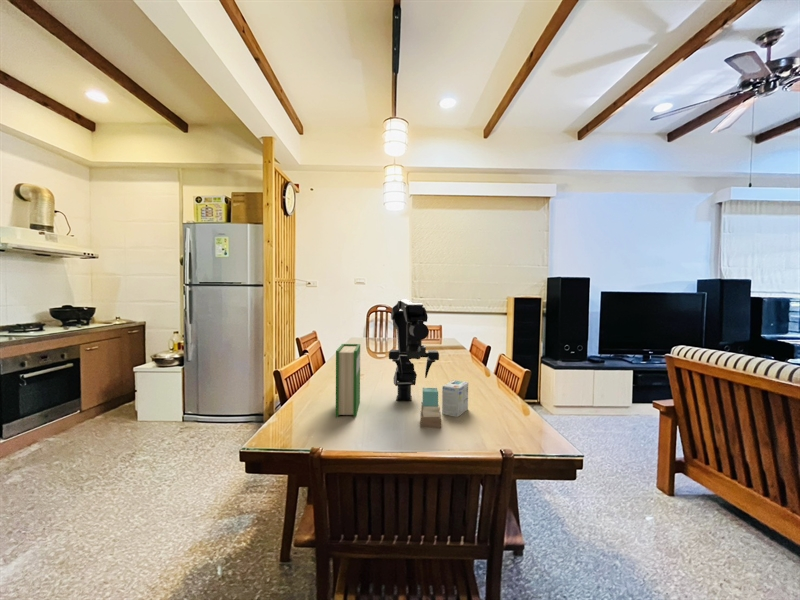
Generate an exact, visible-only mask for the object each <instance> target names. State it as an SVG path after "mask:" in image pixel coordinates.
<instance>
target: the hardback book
mask: <svg viewBox="0 0 800 600" xmlns="http://www.w3.org/2000/svg"><path fill="white" fill-rule="evenodd" d="M360 403H361V344H360V343H342V344H341V345H340V346H339V347H338V348H337V349H336V350H335V418H339V417H340V416H341V415H343V416H345V415H346V416H348V415H349V416H353V418H357V417H358V416H357V415H358V411H359V407H360Z"/></svg>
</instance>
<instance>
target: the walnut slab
mask: <svg viewBox="0 0 800 600" xmlns="http://www.w3.org/2000/svg"><path fill="white" fill-rule="evenodd" d="M419 414H420V425H419V427H420V428H425V429H429V428H431V429H442V415H441V414H442V412H440V417H423V415H422V412H421V411H420V413H419Z"/></svg>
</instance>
